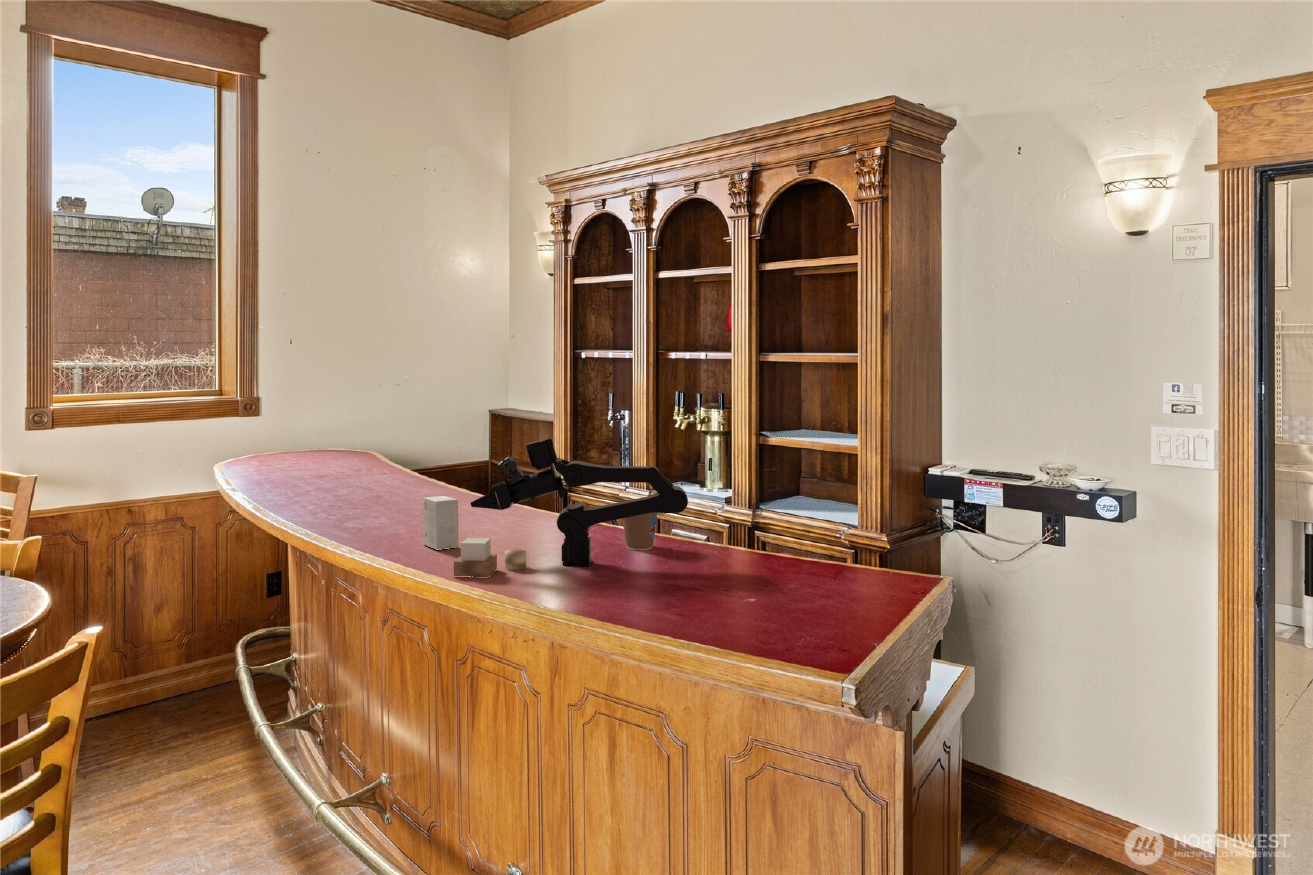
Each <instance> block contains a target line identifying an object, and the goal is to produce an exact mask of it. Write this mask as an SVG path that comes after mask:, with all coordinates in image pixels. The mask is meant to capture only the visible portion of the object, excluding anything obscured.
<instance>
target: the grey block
mask: <svg viewBox="0 0 1313 875" xmlns="http://www.w3.org/2000/svg"><path fill="white" fill-rule="evenodd" d="M491 544H492V543H491V537H490V538H487V537H485V538H484V537H466V538H465V539H464V540H462V542H460V556H461V560H471V561H485V560H486V559H487V558H488V557H489V556H490V555H491V554H492V553H491V550H492V546H491Z"/></svg>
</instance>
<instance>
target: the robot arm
mask: <svg viewBox="0 0 1313 875" xmlns="http://www.w3.org/2000/svg"><path fill="white" fill-rule="evenodd" d="M554 444H555V443H554V439H553V437H549V438H544V439H537V440H535V441H531V442H528V443H526V444H524V447H525V451H526V454H527V458H528V461H529V463H530V467H531V468H534V469H536V471H538V472H534V473H532V474H530V473H526V474H525V473H524V472H523V471H522V469H521V468H520V466H519V464H518V463H517V462H516V460H515V459H514V458H513V457H512V456H511V455H509V456H507V457H506V458H505V459H503V460H502V461H500V462H499V463H497V466H498V467H499V469H500V470H502V471H503V474H505V476H506V477H507V478H508V479H506V480H505V481H502V482H498V483H494V484H493V485H491V489H490V490H489V492H488V493H486V494H484V495H483V496H481V497H479V498H476V499H475V500H472V501H471V502H470V507H472V508H479V509H480V508H481V509H490V510H497V511H500V510H501V511H503V510H506V509H510V508H511V507H512V506H513V505H517V504H519V503H521V502H527V501H528V500H533V499H536V498H540V497H543V496H546V495H549V494H552V493H556V492H557V493H558V496H559V499H563V498H564V496H565V494H566V492H568V491H569V487H570V488H578V487H583V486H584V487H585V486H590V485H593V484H594V485H595V484H599V483H634V484H635V483H643V484H644V483H645V484H646V483H647V484H649V485H650V486H651V487H652V488H653V489H654V491H655V492H654V493H652V494H651V495H649V496H642V497H638V498H634V499H629V500H622V501H619V502H613V503H609V504H603V505H599V506H594V507H593V506H592V507H591V506H586V501H581V502H578V503H576V504H571V503H568V504H567V507H565V508H563V509H562V510H561V511H560V512H559V514H558V517H557V519H556V527H557V529H558V530H559V531H560V533H562V534H563V535H564V538H563V543H562V544H561V562H562V566H571V567H572V566H574V567H575V566H576V567H577V566H578V567H579V566H580V567H588V566H590V565H591V564H592V561H593V558H592V537H591V536H589V535H590V531H591V527H592V526H594V525H597V524H601V523H602V524H603V523H607V522H612V521H616V520H623V518H627V517H632V516H637V515H642V514H647V513H657V514H679V513H682V512H684V511H685V510H686V508H687V507H688V504H689V499H688V496H687V492H686V491H685V490H684V488H683V487H680V486H679V485H674V484H673V483H672V482H671V481H670V480H669V479H668V478H667V477H666V476H664V474H663V473H662V472H660V471H659V468H658V467H656V466H655V465H648V466H647V465H646V466H644V465H643V466H641V465H640V466H638V465H637V466H636V465H634V466H633V465H632V466H631V465H627V466H626V465H623V466H622V465H598V464H595V463H591V462H586V461H580V460H573V461H568V460H566V459H564V458H560V457H558V455H557V452H556V449H555V445H554ZM549 467H550V468H549ZM547 468H548V469H547ZM540 470H542V471H540ZM557 473H559V475H558V474H557ZM564 483H565V484H566V485H567V486H565V485H564ZM568 486H569V487H568Z"/></svg>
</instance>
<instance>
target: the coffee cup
mask: <svg viewBox="0 0 1313 875" xmlns="http://www.w3.org/2000/svg"><path fill="white" fill-rule="evenodd" d="M657 518H658V513H647V514H642V515H637V516H632V517H627V518H622V522H623V533H624V541H625V545H626V546H625V547H626V549H628V550H631V551H632V550H633V551H650V550H651V549H653V547H654V546H653V545H654V539H655V533H656V525H657Z"/></svg>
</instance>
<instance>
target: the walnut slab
mask: <svg viewBox="0 0 1313 875" xmlns="http://www.w3.org/2000/svg"><path fill="white" fill-rule="evenodd" d="M496 569H497V570H498V554H497V553H493V554H492V553H491V555H490V556H489V557H488V558H487V559H486V560H485V561H471V560H461V555H460V556H459V557H457V558H456V559H455V560H454V561H453V577H454V576H471V577H472V576H473V577H488V578H487V579H490V578H489V576H490V575H491V576H493V574H494V573H496V571H497V570H496ZM495 570H496V571H495ZM493 572H494V573H493ZM492 573H493V574H492ZM491 576H490V577H491Z"/></svg>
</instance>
